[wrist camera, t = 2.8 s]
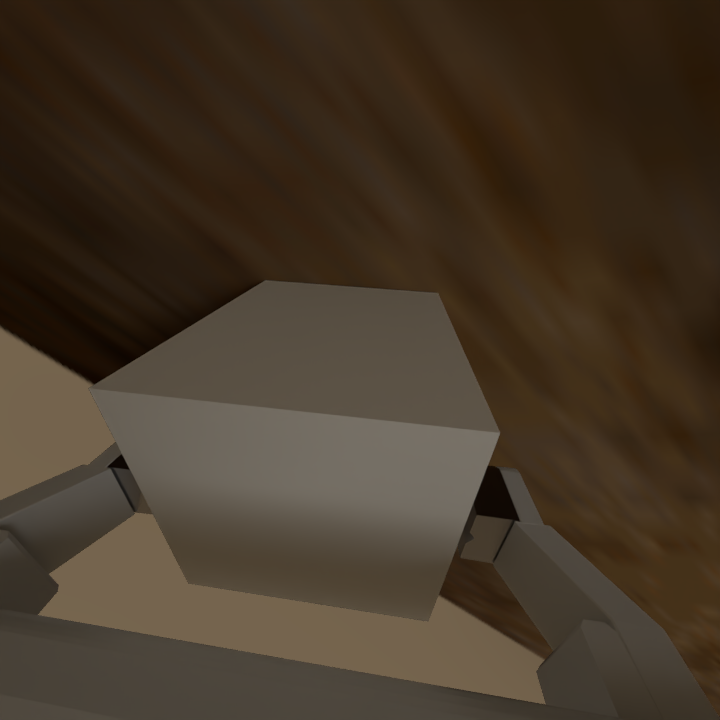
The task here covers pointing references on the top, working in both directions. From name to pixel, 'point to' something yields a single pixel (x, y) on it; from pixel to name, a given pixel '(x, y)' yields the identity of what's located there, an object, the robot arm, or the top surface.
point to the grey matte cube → (309, 444)
